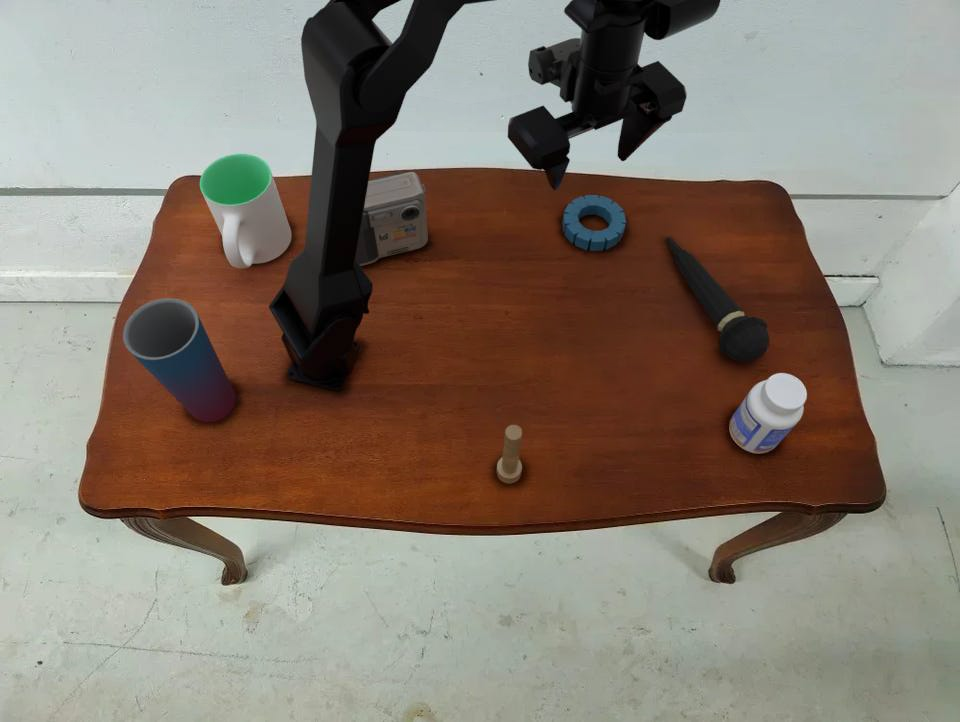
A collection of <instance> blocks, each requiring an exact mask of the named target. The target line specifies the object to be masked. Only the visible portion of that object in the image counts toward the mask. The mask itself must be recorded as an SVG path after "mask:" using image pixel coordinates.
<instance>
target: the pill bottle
mask: <svg viewBox="0 0 960 722" xmlns="http://www.w3.org/2000/svg"><path fill="white" fill-rule="evenodd" d="M807 398H808V391H807V389H806V386H805V385H804V383H803V382H802V381H801V380H800V379H799V378H797V377H796V376H795V375H793V374H791V373H785V372H778V373H774V374H772V375H771V376H769V377H768V378H767V379H765V380H761V381H760V382H758V383H756V384H755V385H754V386H752V388H751V389H750V391H749V392H748V393H747V395H746V396H745V397H744V399H743V401H742V402H741V403H740V405H739V406H738V408H737V409H736V411H734V413H733V415H732V417H731V418H730V420H729V424H728V425H729V427H728V428H729V433H730V437H731V439H732V440H733V441H734V442H735V444H736V445H737V446H739V448H741V449H742V450H744V451H746V452H749V453H752V454H758V455H759V454H766V453H769V452H770V451H772V450H773V449H775V448H776V447H777V446H778V445H779V444H780V443H781V442H782V441H783V439H784V438H785V437H787V435H788V434H789V433H790V432H791V431H792V429H794V427H795V426H796V425H797V424H798V423H799V422H800V420H801V419H802V416H803V414H804V410H805V409H804V404H805V403H806V401H807Z"/></svg>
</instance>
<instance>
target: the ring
mask: <svg viewBox="0 0 960 722" xmlns="http://www.w3.org/2000/svg"><path fill="white" fill-rule="evenodd" d="M613 201H614V200H613V199H611V198H608V197H606V196H603V195H598V194H585V195H584V196H583V195H581V196H579V197H576V198H574V199H573V200H571V202H568V205H567V206H566V208H565V209H564V211H563V215H562V216H563V217H562V222H561V223H562V224H561V225H562V233H564V236H565V238H566V239H568V241H569V242H570V243H571V244H574V246H575V247H578V248H580V249H582V250H585V251H588V249H589V251H590V252H591V251H592V252H599V251H604V250H606V251H607V250H609V249H611V248H612V247H615V246H616V245H617V244H618V243H619V242H620V241H621V239H622V237H623V235H624V233H625V229H626V224H627V220H626V218H627V217H626V214H625V212H624V209H623V208H622V207H621V206H620V205H619V204H618V202H616V201H614V202H613ZM591 215H592V216H593V215H595V216H598V217H600V218H603V219H604V220H605V222H607V224H608V227H606V228H604V229H602V230H592V229H589V228H586V227H584V225H582V223H581V222H580V219H581V218H583V217H585V216H591Z"/></svg>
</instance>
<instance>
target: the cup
mask: <svg viewBox="0 0 960 722" xmlns="http://www.w3.org/2000/svg"><path fill="white" fill-rule="evenodd" d="M122 331H123V332H122V339H123V343H124V346H125V349H127V351H128V352H129V353H130V354H131V355H132V356H133V357H134V358H135V359H136V360H137V361H138V362H139V363H140V364H141V365H142V366H143V368H144V369H146V370H147V371H148V372H149V373H150V374H151V375H152V376H153V377H154V378H155V380H157V381H158V382H159V383H160V384H161V385H162V386H163V388H164V389H165V390H167V391H168V393H170V395H171V396H172V397H174V399H176V400H177V402H179V404H180V405H181V406H182V407H183V408H184V409H185V410H186V411H187V412H188V413H189V414H190V415H191V416H192V417H193V418H195V420H197V421H199V422H202V423H216V422H219V421H221V420H222V419H224V418H226V417H227V416H228V415H229V414H230V413H231V412H232V411H233V409H234V407H235V405H236V400H237V399H236V398H237V396H236V393H235V390H234V388H233V386H232V384H231V382H230V380H229V377H228V375H227V373H226V371H225V369H224V367H223V365H222V363H221V361H220V358H219V356H218V354H217V352H216V350H215V348H214V346H213V343H212V342H211V340H210V337H209V335H208V333H207V331H206V328H205V326H204V325H203V323H202V321H201V318H200V316H199V314H198V312H197V310H196V309H195V307H194V306H193V305H192V304H190V303H189V302H187V301H185V300H183V299H179V298H176V297H175V298H173V297H164V298H157V299H154V300H152V301H149V302H147V303H145V304H143V305H142V306H139V308H137V309H136V310H135V311H134V312H133V313H132V314H131V315H130V316H129V318H128V319H127V320H126V322H125V325H124V327H123V330H122Z"/></svg>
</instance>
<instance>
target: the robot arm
mask: <svg viewBox="0 0 960 722" xmlns="http://www.w3.org/2000/svg"><path fill="white" fill-rule="evenodd" d="M401 1H402V0H329V1H328V2H327V3H326V4H325V6H324V7H321V9H319V10H318V11H317V12H316V13H315V14H314V15H313V16H310V17H308V18H307V19H306V21H305V24H304V25H303V28H302V33H301V37H300V38H301V39H300V45H301V57H302V66H303V75H304V81H305V85H306V88H307V91H308V95H309V98H310V103H311V106H312V110H313V113H314V117H315V125H316V126H315V136H314V146H313V147H314V148H313V157H312V167H311V175H310V176H311V177H310V187H309V188H310V190H309V198H308V207H307V209H308V210H307V220H306V229H305V241H304V248H303V250H302V251H301V252H299V253H298V254H297V255H295V257H293V258H292V259H291V261H290V263H289V266H288V269H287V273H286V277H285V280H284V283H283V285H282V286H281V288H280V289H279V290H278V292H277V293H276V295H275V297H273V299H272V300H271V302H270V303H269V304H268V309H269V311H270V312H271V314H272V316H273V318H274V319H275V321H276V323H277V325H278V326H279V328H280V331H282V334H281V338H280V339H281V341H282V344H283V346H284V348H285V351H286V353H287V355H288V357H289V359H290V362H291V365H290V366H289V368H288V371H287V373H286V377H287V379H288V380H290V381H292V382H297V383H300V384H305V385H309V386H313V387H317V388H322V389H326V390H328V391H329V390H330V391H334V392H341V391H342V390H343V388H344V386H345V383H346V382H347V379H348V377H349V376H351V375H352V372H353V370H354V368H355V366H356V363H357V360H358V358H359V356H358V352H359V350H360V343H359V342H358V341H356V340H355V338H356V337H355V336H356V332H357V329H358V328H359V326H361V323H362V321H363V318H364V314H365V315H367V314H369V313H370V309H369V301H370V299H371V297H372V294H373V283H372V281H371V280H370V278H369V277H368V275H367V274H366V272H365V271H364V269H363V268H362V266H360V265H359V263H358V262H357V260H356V259H355V258H356V252H357V246H358V240H359V234H360V228H361V223H362V217H363V211H364V205H365V199H366V193H367V188H368V182H369V180H370V176H371V170H372V163H373V158H374V152H375V148H376V146H375V145H376V142H377V140H379V138H381V137H382V136H383V135H384V134H386V132H387V131H388V130H389V129H391V128H392V127H393V126H394V125H395V124H396V122H397V120H398V117H399V114H400V111H401V109H402V106H403V103H404V102H405V101H404V100H405V98H406V95H407V92H408V91H410V89H411V88H412V87H413V86H414V85H415V84H416V83H417V82H418V81H419V80H420V79H421V77H422V76H423V75H425V73H426V72H427V71H428V70H429V69H430V68H431V66H432V64H433V63H434V61H435V59H436V58H435V57H436V55H437V53H438V50H439V47H440V45H441V42H442V40H443V37H444V34H445V31H446V30H447V26H448V24H449V22H450V21H451V20H452V19H453V17H454V16H456V14H457V13H458V12H459V11H461V9H462V8H463V6H465V5H472V4H480V3H487V2H488V3H489V2H494V1H495V2H496V0H413V1H412V3H411V6H410V8H409V12H408V14H407V16H406V19H405V22H404V25H403V27H402V30H401V32H400V34H399V36H398V37H397V38H396V39H395V40H394V41H393V42H392V41H391V39H390V38H388V37H387V35H386V34H385V33H384V32H383V30H381V28H380V27H379V26H378V25H377V24H376V22H375V21H374V20H373V19H374V18H375V17H377V16H378V14H379V13H380V12H381V11H382V10H385V9H387V8H388V7H390V6H394V5H395V4H397V3H399V2H401ZM720 4H721V0H571V1H569V3H568V4H567V5H566V6H565V7H564V10H563V13H564V15H565V16H567V17H568V18H569V19H570V20H571V21H572V22H573V23H575V24H576V25H577V26H578V27H579V28H580V29H581V32H580V37H575V38H574V37H573V38H569V39H566V40H564V41H561V42H558V43H555V44H552V45H550V46H547V47H546V46H545V45H542V46H539V47H537V48H534V49H531V50H530V51H529V55H528V62H527V67H528V74H529V78H530V80H532V81H533V82H535V83H537V84H539V85H540V86H543V85H546V84H549V83H550V84H552V85H554V86H555V87H557V88H559V95H558V97H560V98H561V100H562V101H563V102H564V103H568V102H570V104H571V107H570V108H571V112H568V113H566V114H563V115H561V116H559V117H558V116H557V117H556V118H555V117H554V116H553V114H551V112H550V111H549V110H548V109H547V108H546V106H544V104H543V105H540V106H538V107H535V108H532V109H530V110H528V111H525V112H522V113H520V114H517V115H515V116H512V117H509V122H508V124H507V139H508V140H509V141H510V143H512V145H513V146H514V147H515V148H516V150H517V151H518V152H519V154H520V155H521V156H522V157H523V158H524V160H525V161H526V162H527V163H528V165H529V166H530V167H531V168H532V170H533V169H534V170H538V171H544V173H545V176H546V178H547V181H548V184H549V187H551V189H552V190H553V191H557V190H558V189H559V187H560V185H561V184H562V182H563V179H564V176H565V174H566V172H567V169H568V167H569V165H570V162H571V159H570V157H568V155H570V151H571V143H570V139H573V138H575V137H577V136H580V135H582V134H585V133H587V132H590V131H593V130H595V131H597V130H599V129H602V128H605V127H607V126H609V125H611V124H614V123H617V122H619V121H622V122H621V123H622V124H621V126H620V127H621V129H620V134H619V139H618V144H617V153H616V154H617V158H618V159H619V160H620V161H621V162H625V161H626V160H628V159H629V157H631V155H632V154H634V152H636V150H638V148H640V147H641V146H642V145H643V144H644V143H645V142H646V141H647V140H648V139H649V138H651V136H652V135H654V134H655V133H656V132H657V131H658V130H659V129H660V128H661V127H663V126H664V125H665V124H666V123H668V122H671V120H672V119H673V116H675V115H677V114H679V113H682V112H683V110H684V107H685V103H686V100H687V97H688V94H687V93H688V92H687V90H686V86H685V84H683V83H682V82H681V81H680V79H678V78H677V77H676V76H675V75H674V74H673V73H672V72H671V71H670V70H669V69H668V68H666V66H665V65H664V64H662V63H661V61H659V60H656V61H654V62H651V63H648V64H646V65H643V66H641V65H640V64H638V63H639V58H640V54H641V49H642V46H643V41H644V38H645V37H644V36H645V35H646V36H647V37H648V38H650V39H652V40H654V41H662V40H665V39H667V38H670V37H671V36H674V35H676V34H678V33H681V32H683V31H686V30H688V29H690V28H692V27H695V26H697V25H699V24H702V23H704V22H706V21H709V20H710V19H711V18H713V17H714V15H716V13H717V11H718V10H719V7H720ZM291 375H292V376H291ZM338 386H339V387H338Z"/></svg>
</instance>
